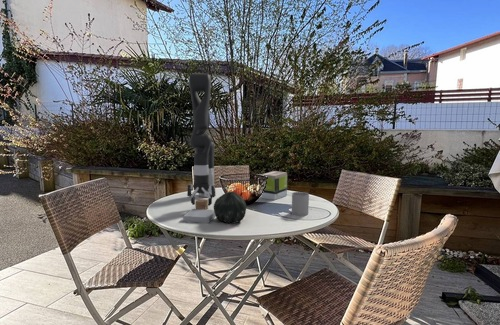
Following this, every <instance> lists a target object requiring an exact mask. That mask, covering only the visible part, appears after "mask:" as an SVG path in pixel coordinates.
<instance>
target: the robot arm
mask: <svg viewBox="0 0 500 325" xmlns="http://www.w3.org/2000/svg"><path fill="white" fill-rule="evenodd" d="M188 83H189V91H190V95H191V96H190V97H191V103H192V117H193V130H192V132H191V133H192V134H191V137H190V141H189V143H190V146H191V148H193V149H195V153H194V155H193V158H194V159H193V160H194V161H193V162H194V163H193V164H194V166H193V184H192V183H189V184H188V185H187V197H189V198H190V203H191V205H192V206H194V205H195V201H196V195H197V194H198V196H199V197H202V198H207V199H208V207H209V206H211V205H212V204H213V198H215V197H216V194H217V193H216V185H215V143H214V141H212V136H211V135H210V134H208V133H207V134H206V132H207V130H208V129H209V127H210V125H211V113H210V110H209V107H210V100H211V91H212V78H211V75H210V74H209V73H201V72H200V73H199V72H198V73H196V72H195V73H193V72H192V73H190V75H189V77H188ZM198 92H199V93H200V92H203V97H202V99H201V98H200V97H199V94H198ZM192 189H194V191H193V192H192Z"/></svg>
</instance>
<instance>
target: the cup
mask: <svg viewBox="0 0 500 325" xmlns="http://www.w3.org/2000/svg"><path fill="white" fill-rule="evenodd" d="M309 201H310V194H309V193H308V192H304V191H296V192H292V193H291V214H292V215H294V216H298V217H301V216H302V217H303V216H304V217H305V216H308V215H309V205H310V204H309V203H310V202H309Z"/></svg>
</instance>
